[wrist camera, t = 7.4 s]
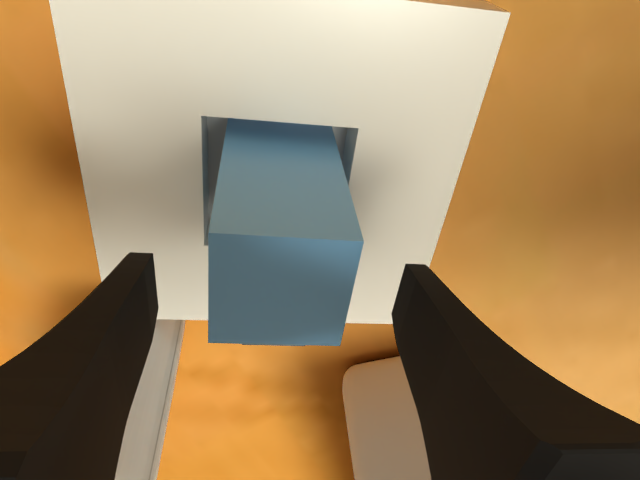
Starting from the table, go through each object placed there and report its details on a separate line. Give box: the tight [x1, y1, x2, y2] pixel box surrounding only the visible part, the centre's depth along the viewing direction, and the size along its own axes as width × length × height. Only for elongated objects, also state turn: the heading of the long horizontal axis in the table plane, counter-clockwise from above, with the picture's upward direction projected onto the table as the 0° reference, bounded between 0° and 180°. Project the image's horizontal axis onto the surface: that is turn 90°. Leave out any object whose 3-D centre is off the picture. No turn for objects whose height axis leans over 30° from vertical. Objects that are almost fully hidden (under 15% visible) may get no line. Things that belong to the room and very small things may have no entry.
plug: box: [208, 118, 364, 346], centre depth 17 cm, size 4×5×8 cm
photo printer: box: [115, 319, 185, 480], centre depth 21 cm, size 10×4×12 cm, turn 155°
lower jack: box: [49, 0, 511, 324], centre depth 19 cm, size 14×14×2 cm
